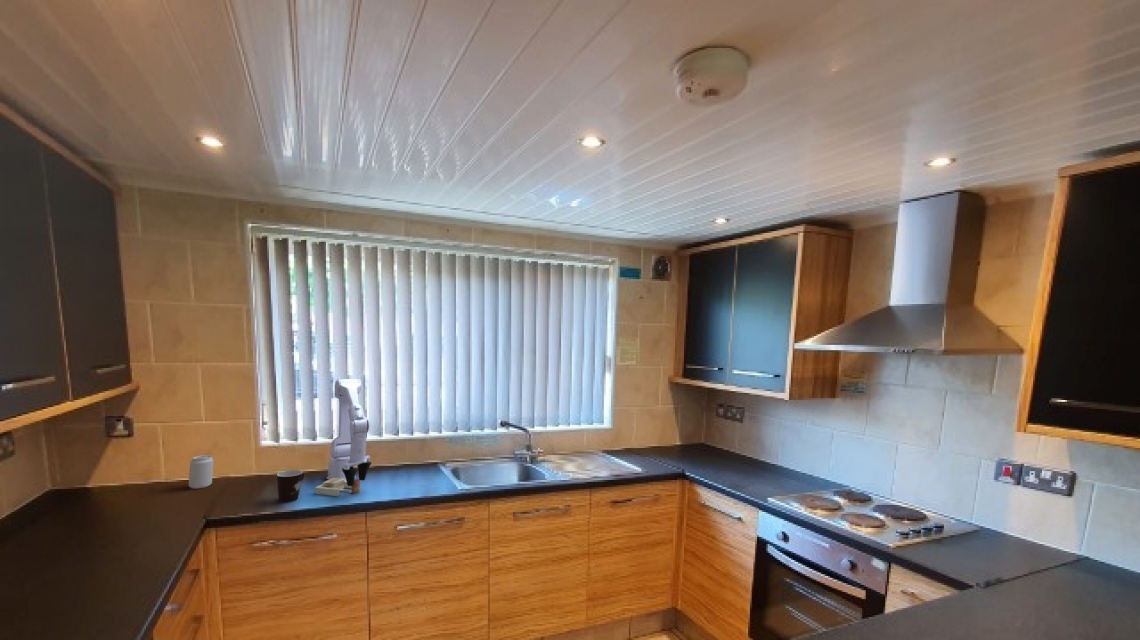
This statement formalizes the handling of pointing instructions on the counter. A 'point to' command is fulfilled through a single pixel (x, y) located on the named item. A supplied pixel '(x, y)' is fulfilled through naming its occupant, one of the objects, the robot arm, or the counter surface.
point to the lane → (330, 490)
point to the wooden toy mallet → (342, 485)
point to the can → (201, 472)
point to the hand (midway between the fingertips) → (356, 482)
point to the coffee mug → (289, 485)
